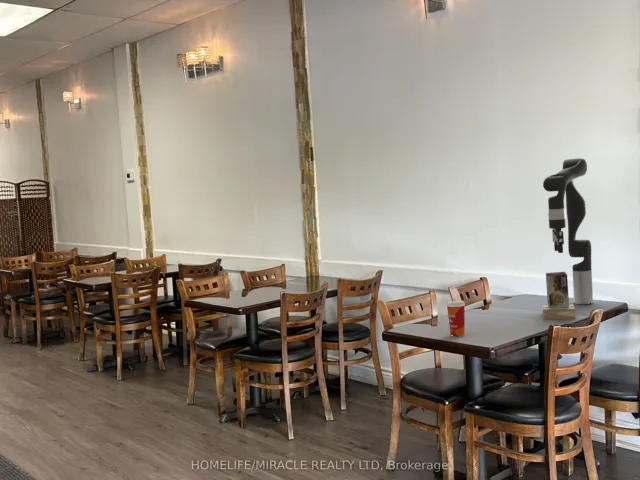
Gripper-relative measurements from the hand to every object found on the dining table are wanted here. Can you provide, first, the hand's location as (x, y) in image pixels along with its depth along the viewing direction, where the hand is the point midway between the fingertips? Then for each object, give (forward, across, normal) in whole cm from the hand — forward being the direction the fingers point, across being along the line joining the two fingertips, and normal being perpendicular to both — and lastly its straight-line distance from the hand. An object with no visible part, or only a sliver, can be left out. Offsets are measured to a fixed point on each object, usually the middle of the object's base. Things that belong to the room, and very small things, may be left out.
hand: (558, 251), depth 318 cm
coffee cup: (+30, -36, +52) cm, 70 cm away
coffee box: (+26, -3, +2) cm, 26 cm away
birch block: (+31, -3, +2) cm, 31 cm away
